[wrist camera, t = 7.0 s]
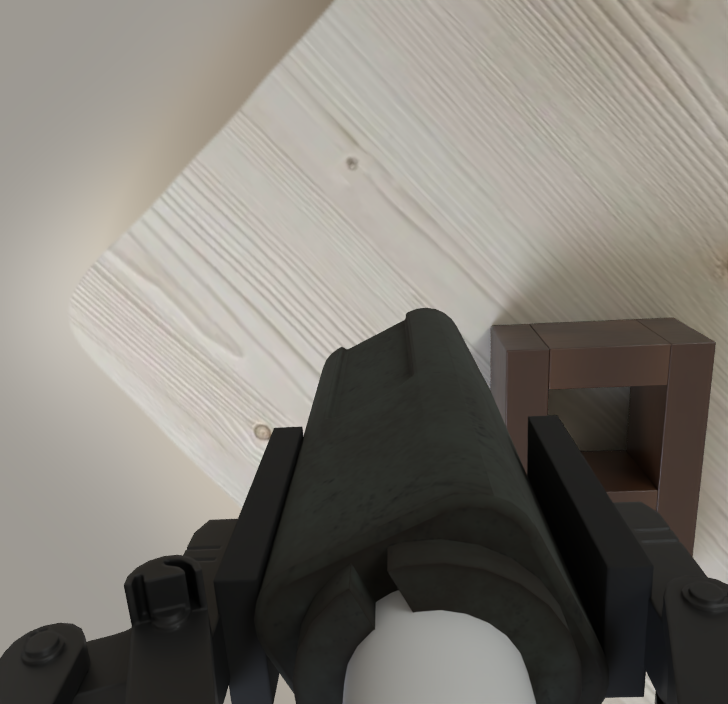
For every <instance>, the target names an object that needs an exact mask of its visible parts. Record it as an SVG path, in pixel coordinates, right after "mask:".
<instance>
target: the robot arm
mask: <svg viewBox="0 0 728 704" xmlns="http://www.w3.org/2000/svg"><path fill="white" fill-rule="evenodd" d="M302 440H303V429H302V427H286V428H274V430H273V432H272V435H271V437H270V440H269V442H268V445H267V447H266V450H265V452H264V455H263V457H262V460H261V462H260V465H259V467H258V470H257V472H256V475H255V477H254V480H253V483H252V485H251V488H250V490H249V493H248V495H247V498H246V500H245V503H244V505H243V508H242V510H241V513H240V515H239V518H238V519H221V520H209V521H208V522H207V523H205V524H204V525H203V526H202V527H201V528H200V529H198V530H197V531H196V532H195V533H194V535H193V537H192V539H191V541H190V543H189V545H188V547H187V550H186V551H185V553H184V555H183V556H182V555H172V556H163V557H160V558H157V559H154V560H150V561H148V562H146V563H144V564H143V565H141V566H139V567H137V568H136V569H135V570H134V571H133V572H132V573H131V574H130V575H129V576H128V577H127V579H126V582H125V584H124V589H125V593H126V599H127V603H128V609H129V613H130V619H131V623H132V628H131V629H129V630H127V631H124V632H121V633H118V634H115V635H112V636H107V637H104V638H100V639H96V640H92V641H88V642H86V639H85V635H84V633H83V631H82V629H81V628H79V627H77V626H76V625H74V624H68V623H57V624H52V625H46V626H43V627H40V628H38V629H35V630H33V631H30V632H29V633H27V634H25V635H24V636H22V637H21V638H19V639H18V640H16V641H15V642H14V643H13V644H12V645H11V646H10V647H9V648H8V649H7V650H6V651H5V652H4V654H3V655H2V657H1V658H0V704H223V703H224V699H225V696H226V692H227V689H228V686H229V689H230V696H231V702H232V704H273V703H274V697H275V693H276V688H277V683H278V677H279V672H278V670H277V669H276V667H275V666H274V664H273V663H272V662H271V660H270V659H269V657H268V656H267V655H266V653H265V652H264V650H263V648H262V646H261V644H260V642H259V640H258V638H257V633H256V628H255V623H254V616H255V608H256V602H257V599H258V595H259V592H260V588H261V585H262V581H263V578H264V574H265V571H266V567H267V564H268V560H269V557H270V553H271V549H272V546H273V542H274V539H275V535H276V532H277V528H278V525H279V521H280V518H281V514H282V511H283V507H284V504H285V500H286V497H287V493H288V490H289V486H290V483H291V479H292V476H293V472H294V468H295V465H296V461H297V458H298V454H299V451H300V447H301V444H302ZM527 476H528V479H529V481H530V483H531V485H532V488H533V490H534V492H535V495H536V497H537V499H538V502H539V504H540V506H541V509H542V511H543V513H544V515H545V518H546V520H547V522H548V525H549V527H550V529H551V532H552V534H553V536H554V539H555V541H556V543H557V546H558V548H559V550H560V552H561V555H562V557H563V559H564V562H565V564H566V566H567V569H568V571H569V573H570V576H571V578H572V580H573V583H574V585H575V587H576V589H577V592H578V594H579V596H580V599H581V601H582V603H583V606H584V608H585V610H586V613H587V615H588V617H589V619H590V622H591V624H592V626H593V629H594V631H595V633H596V636H597V638H598V640H599V643H600V645H601V647H602V650H603V652H604V655H605V657H606V660H607V663H608V666H609V687H608V690H607V693H606V696H605V698H613V697H644V688H645V675H646V672H647V674H648V676H649V678H650V680H651V682H652V684H653V686H654V688H655V690H656V694H655V704H728V585H727V584H725V583H723V582H721V581H719V580H716V579H712V578H708V577H707V576H706V575H705V573H704V572H703V571H702V569H701V568H700V567H699V565H698V564H697V563H696V561H695V560H694V559H693V557H692V556H691V555H690V553H689V552H688V551H687V549H686V548H685V547H684V545H683V544H682V543H681V542H679V539H678V537H677V536H676V535H675V533H674V532H673V531H672V530H671V529H670V527H669V525H668V524H667V523H666V521H665V520H664V519H663V517H662V516H661V515H660V513H658V512H657V511H655V510H653V509H652V508H650V507H649V506H647V505H646V504H644V503H642V502H641V501H640V502H615V503H613V502H612V500H611V499H610V497H609V495H608V494H607V492H606V491H605V489H604V488H603V486H602V485H601V483H600V481H599V480H598V478H597V477H596V475H595V474H594V472H593V471H592V469H591V467H590V466H589V464H588V463H587V461H586V460H585V458H584V456H583V455H582V453H581V452H580V450H579V449H578V447H577V446H576V444H575V442H574V441H573V439H572V438H571V436H570V435H569V433H568V432H567V430H566V428H565V427H564V425H563V424H562V422H561V421H560V419H559V417H558V416H557V415H549V416H528V448H527Z"/></svg>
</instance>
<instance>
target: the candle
mask: <svg viewBox="0 0 728 704" xmlns="http://www.w3.org/2000/svg"><path fill="white" fill-rule="evenodd" d="M254 623H255V628H256V633H257V638H258V640H259V642H260V644H261V646H262V648H263V650H264V652H265V653H266V655H267V656H268V657H269V659H270V660H271V662H272V663H273V664H274V666H275V667H276V669H277V670H278V672H279V673H280V674H281V676H282V677H283V678H284V680H285V681H286V683H287V684H288V685H289V687H290V688H291V690H292V691H293V693H294V694H295V700H296V704H601V703H602V702H603V701H604V699H605V696H606V693H607V690H608V687H609V666H608V663H607V660H606V657H605V655H604V652H603V650H602V647H601V645H600V643H599V640H598V638H597V636H596V633H595V631H594V629H593V626H592V624H591V622H590V619H589V617H588V615H587V613H586V610H585V608H584V606H583V603H582V601H581V599H580V596H579V594H578V592H577V589H576V587H575V585H574V583H573V580H572V578H571V576H570V573H569V571H568V569H567V566H566V564H565V562H564V559H563V557H562V555H561V552H560V550H559V548H558V546H557V543H556V541H555V539H554V536H553V534H552V532H551V529H550V527H549V525H548V522H547V520H546V518H545V515H544V513H543V511H542V509H541V506H540V504H539V502H538V499H537V497H536V495H535V492H534V490H533V488H532V485H531V483H530V481H529V479H528V476H527V474H526V472H525V469H524V467H523V465H522V462H521V460H520V458H519V455H518V453H517V451H516V448H515V446H514V444H513V442H512V439H511V437H510V435H509V432H508V430H507V428H506V425H505V423H504V421H503V418H502V416H501V414H500V412H499V409H498V407H497V405H496V402H495V400H494V398H493V395H492V393H491V391H490V389H489V387H488V385H487V383H486V381H485V379H484V378H483V376H482V374H481V372H480V370H479V368H478V366H477V364H476V362H475V360H474V358H473V357H472V355H471V353H470V351H469V349H468V347H467V345H466V343H465V341H464V339H463V338H462V336H461V334H460V332H459V330H458V328H457V326H456V325H455V323H454V322H453V320H452V319H451V318H450V317H449V316H447V315H446V314H445V313H443V312H441V311H439V310H436V309H431V308H420V309H416V310H413V311H410V312H408V313H407V314H406V319H405V320H404V321H402V322H400V323H398V324H396V325H394V326H392V327H390V328H389V329H387V330H385V331H383V332H381V333H379V334H377V335H375V336H373V337H371V338H369V339H367V340H365V341H364V342H362V343H360V344H358V345H356V346H354V347H352V348H350V349H345V348H343V347H341V348H339V349H337V350H336V351H335V352H333V353H332V354H331V355H330V356H329V358H328V359H327V360H326V362H325V365H324V367H323V370H322V373H321V377H320V380H319V384H318V387H317V391H316V394H315V398H314V402H313V405H312V409H311V412H310V416H309V419H308V423H307V426H306V430H305V433H304V437H303V440H302V444H301V447H300V451H299V454H298V458H297V461H296V465H295V468H294V472H293V476H292V479H291V483H290V486H289V490H288V493H287V497H286V500H285V504H284V507H283V511H282V514H281V518H280V521H279V525H278V528H277V532H276V535H275V539H274V542H273V546H272V549H271V553H270V557H269V560H268V564H267V567H266V571H265V574H264V578H263V581H262V585H261V588H260V592H259V595H258V599H257V602H256V608H255V616H254Z"/></svg>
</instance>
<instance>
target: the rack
mask: <svg viewBox="0 0 728 704" xmlns="http://www.w3.org/2000/svg"><path fill="white" fill-rule="evenodd" d="M715 345H716V342H714V341H713V340H711V339H709V338H708V337H706V336H704V335H702V334H701V333H699V332H697V331H696V330H694V329H692V328H691V327H689V326H687V325H685V324H684V323H682V322H680V321H679V320H677V319H675V318H655V319H636V320H635V319H632V320H608V321H585V322H561V323H538V324H530V325H529V324H518V325H495V326H491V393H492V395H493V398H494V400H495V402H496V405H497V407H498V409H499V412H500V414H501V416H502V418H503V421H504V423H505V425H506V428H507V430H508V432H509V435H510V437H511V439H512V442H513V444H514V446H515V448H516V451H517V453H518V455H519V458H520V460H521V462H522V465H523V467H524V469H525V472H526V474H527V448H528V416H548V388H549V389H572V388H598V387H624V386H631V387H630V402H629V416H628V430H627V444H626V450H617V451H588V452H581V453H582V455H583V456H584V458H585V460H586V461H587V463H588V464H589V466H590V467H591V469H592V471H593V472H594V474H595V475H596V477H597V478H598V480H599V481H600V483H601V485H602V486H603V488H604V489H605V491H606V492H607V494H608V495H609V497H610V499H611V500H612V502H613V503H615V502H640V501H641V502H642V503H644V504H646V505H647V506H649V507H650V508H652V509H653V510H655V511H657V512H658V513H660V515H661V516H662V517H663V519H664V520H665V521H666V523H667V524H668V525H669V527H670V529H671V530H672V531H673V532H674V533H675V535H676V536H677V537H678V539H679V542H681V543H682V544H683V545H684V547H685V548H686V549H687V551H688V552H689V553H690V555H691V556H693V547H694V537H695V528H696V519H697V510H698V501H699V491H700V482H701V473H702V464H703V455H704V446H705V436H706V427H707V418H708V409H709V400H710V390H711V381H712V372H713V363H714V354H715Z"/></svg>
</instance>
